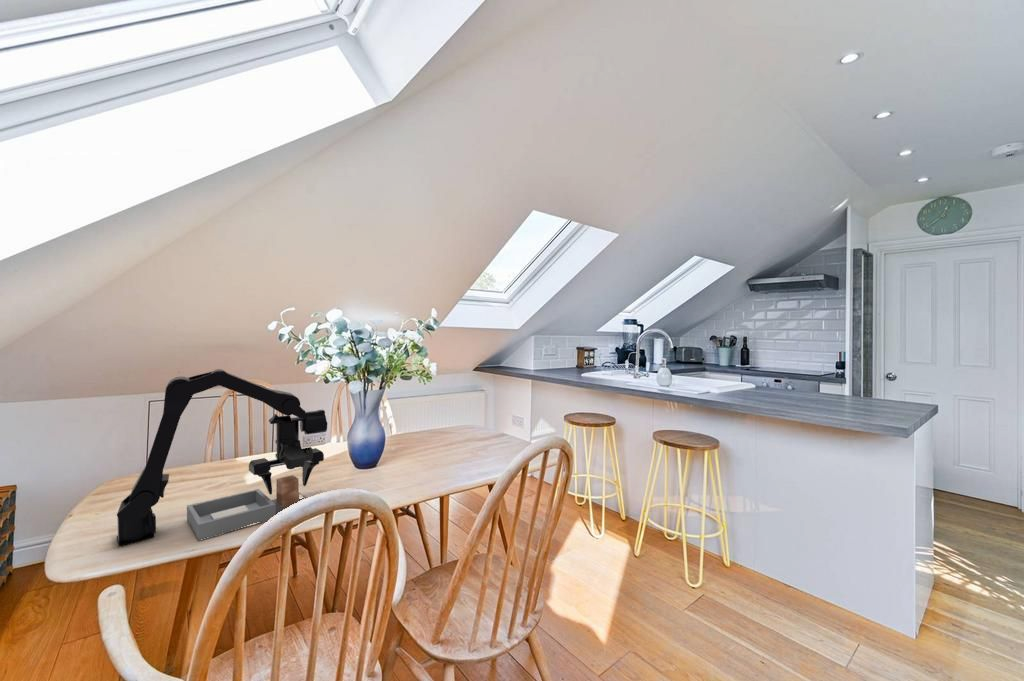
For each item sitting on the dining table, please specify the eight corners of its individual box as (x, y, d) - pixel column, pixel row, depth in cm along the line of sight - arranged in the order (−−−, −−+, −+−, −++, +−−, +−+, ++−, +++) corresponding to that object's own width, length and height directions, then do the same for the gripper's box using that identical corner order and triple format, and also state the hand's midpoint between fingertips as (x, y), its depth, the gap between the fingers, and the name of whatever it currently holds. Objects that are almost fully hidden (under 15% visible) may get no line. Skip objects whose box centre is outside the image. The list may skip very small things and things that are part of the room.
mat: (274, 515, 117) (274, 513, 117) (263, 504, 124) (263, 502, 124) (312, 504, 125) (312, 502, 125) (299, 494, 132) (299, 492, 132)
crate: (198, 541, 103) (198, 524, 103) (187, 520, 114) (186, 505, 113) (275, 518, 115) (275, 504, 115) (258, 502, 126) (258, 488, 126)
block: (281, 507, 121) (281, 482, 121) (276, 502, 124) (276, 478, 124) (298, 502, 124) (298, 479, 124) (292, 498, 128) (292, 475, 127)
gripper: (260, 449, 111) (260, 508, 112) (331, 436, 125) (331, 489, 125) (248, 440, 119) (248, 495, 120) (316, 429, 133) (316, 479, 133)
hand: (287, 489), depth 124 cm, fingers open, 9 cm apart
